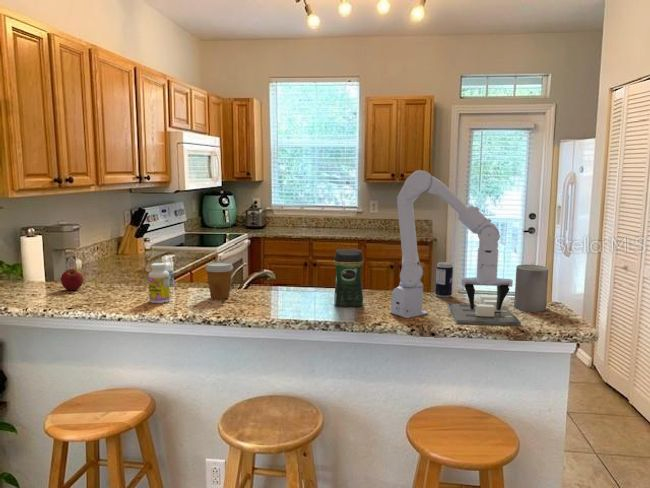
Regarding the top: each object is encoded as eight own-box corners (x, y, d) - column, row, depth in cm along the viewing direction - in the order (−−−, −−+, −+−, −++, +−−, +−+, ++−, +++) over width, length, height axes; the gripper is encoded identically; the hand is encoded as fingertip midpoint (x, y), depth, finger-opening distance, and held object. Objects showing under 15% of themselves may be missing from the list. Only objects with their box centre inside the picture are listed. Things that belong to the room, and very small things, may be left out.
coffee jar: (362, 301, 167) (363, 247, 164) (363, 308, 159) (364, 251, 156) (333, 301, 167) (334, 247, 165) (333, 307, 159) (334, 251, 157)
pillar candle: (519, 303, 167) (521, 259, 165) (550, 307, 161) (552, 262, 158) (509, 309, 159) (511, 263, 157) (541, 314, 153) (543, 267, 151)
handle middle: (484, 311, 151) (485, 301, 151) (483, 309, 154) (483, 299, 153) (501, 311, 151) (502, 302, 150) (499, 309, 153) (500, 300, 153)
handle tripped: (476, 316, 146) (477, 306, 146) (475, 313, 148) (475, 304, 148) (494, 316, 145) (494, 306, 145) (492, 314, 148) (492, 304, 147)
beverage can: (452, 298, 172) (453, 264, 171) (435, 297, 174) (436, 264, 172) (451, 294, 178) (452, 262, 176) (435, 293, 179) (436, 261, 178)
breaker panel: (456, 323, 143) (456, 319, 142) (447, 306, 161) (448, 303, 161) (520, 325, 141) (520, 322, 140) (504, 308, 159) (504, 305, 159)
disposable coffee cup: (239, 296, 173) (238, 263, 171) (220, 302, 165) (219, 267, 163) (219, 293, 178) (219, 260, 176) (200, 298, 170) (199, 264, 168)
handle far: (480, 306, 157) (481, 297, 157) (479, 304, 160) (479, 295, 159) (497, 306, 157) (497, 297, 156) (495, 304, 159) (495, 295, 159)
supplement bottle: (145, 302, 164) (143, 264, 162) (158, 298, 170) (157, 261, 168) (161, 304, 161) (159, 266, 160) (174, 300, 167) (173, 263, 166)
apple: (56, 292, 178) (54, 270, 177) (71, 287, 186) (69, 266, 185) (75, 293, 176) (73, 271, 175) (89, 288, 184) (88, 267, 183)
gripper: (464, 266, 142) (462, 311, 143) (516, 267, 140) (513, 313, 142) (460, 262, 149) (458, 305, 150) (510, 263, 147) (507, 307, 149)
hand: (485, 309), depth 147 cm, fingers open, 7 cm apart
